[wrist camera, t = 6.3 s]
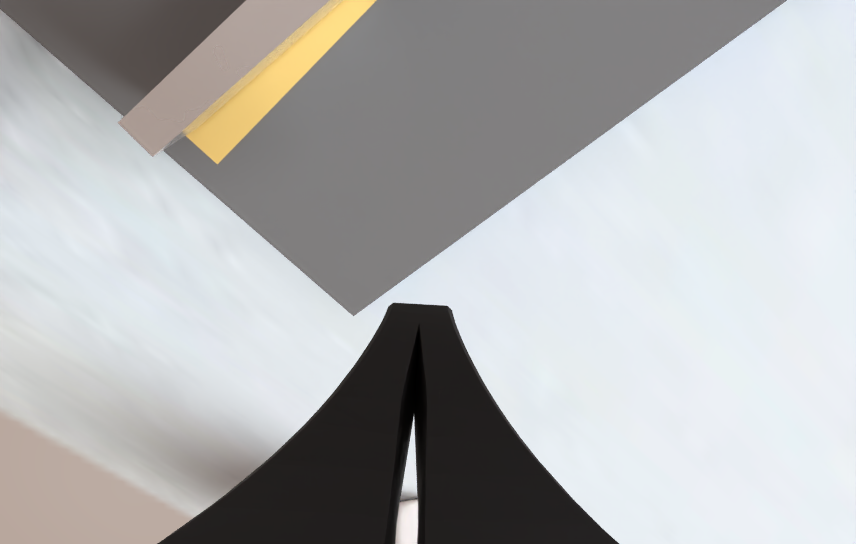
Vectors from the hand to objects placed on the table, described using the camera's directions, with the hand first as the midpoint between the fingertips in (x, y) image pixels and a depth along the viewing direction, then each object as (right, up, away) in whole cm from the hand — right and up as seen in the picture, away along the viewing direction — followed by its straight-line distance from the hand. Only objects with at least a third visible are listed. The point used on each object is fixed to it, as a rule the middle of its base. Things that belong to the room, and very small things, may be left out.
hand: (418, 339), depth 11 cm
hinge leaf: (-5, +9, +4) cm, 11 cm away
